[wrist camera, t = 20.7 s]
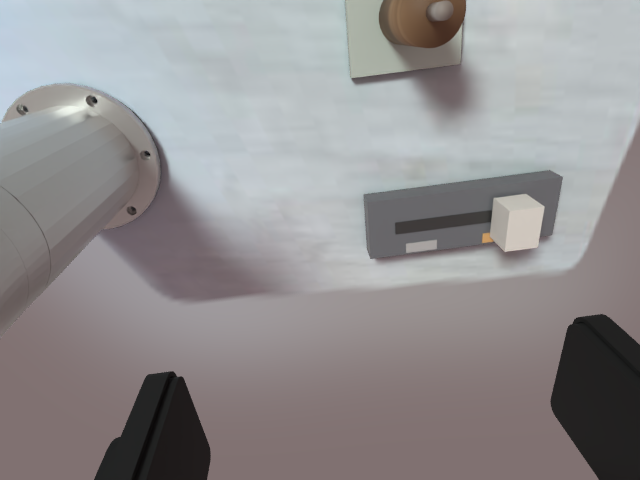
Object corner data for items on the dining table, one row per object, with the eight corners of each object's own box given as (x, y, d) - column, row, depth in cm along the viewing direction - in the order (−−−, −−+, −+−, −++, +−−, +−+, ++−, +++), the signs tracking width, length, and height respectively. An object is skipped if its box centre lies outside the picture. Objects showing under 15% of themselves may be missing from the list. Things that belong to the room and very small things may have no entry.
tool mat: (350, 77, 33) (351, 78, 32) (342, -39, 29) (343, -41, 29) (457, 63, 33) (460, 64, 32) (463, -55, 29) (466, -56, 29)
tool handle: (393, 55, 32) (427, 63, 24) (369, 6, 30) (398, -3, 22) (438, 25, 31) (489, 23, 23) (416, -27, 29) (463, -49, 21)
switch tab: (489, 236, 38) (504, 251, 36) (493, 198, 36) (509, 211, 34) (520, 232, 38) (537, 247, 36) (526, 193, 36) (544, 206, 34)
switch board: (367, 249, 41) (370, 259, 39) (363, 194, 38) (367, 203, 36) (540, 226, 41) (552, 235, 39) (550, 170, 38) (563, 177, 36)
